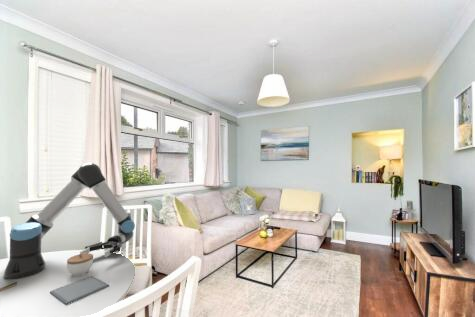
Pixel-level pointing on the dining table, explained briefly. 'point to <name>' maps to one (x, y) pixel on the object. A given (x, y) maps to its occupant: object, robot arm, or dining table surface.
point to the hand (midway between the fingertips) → (92, 254)
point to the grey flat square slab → (78, 289)
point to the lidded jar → (80, 264)
